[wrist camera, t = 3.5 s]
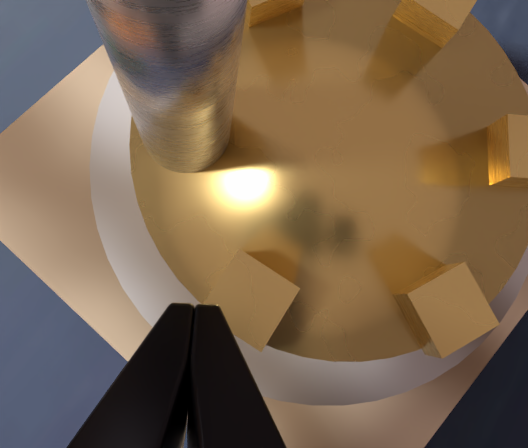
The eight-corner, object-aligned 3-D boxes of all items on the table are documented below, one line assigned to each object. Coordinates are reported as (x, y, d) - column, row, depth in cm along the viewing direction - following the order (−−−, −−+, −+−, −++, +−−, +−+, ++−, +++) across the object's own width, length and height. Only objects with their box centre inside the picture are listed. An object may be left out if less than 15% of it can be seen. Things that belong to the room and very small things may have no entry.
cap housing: (330, 546, 17) (357, 598, 14) (-43, 191, 17) (-96, 168, 14) (607, 181, 20) (675, 161, 17) (292, -103, 21) (306, -171, 18)
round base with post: (344, 445, 14) (768, 883, 3) (50, 169, 15) (-394, -212, 4) (571, 159, 17) (1232, -103, 6) (315, -72, 17) (500, -720, 6)
